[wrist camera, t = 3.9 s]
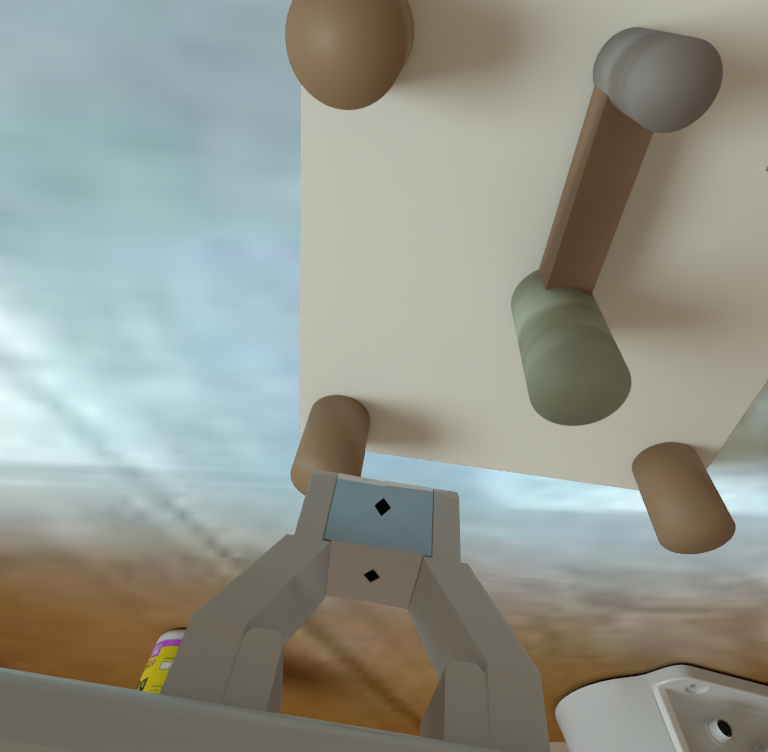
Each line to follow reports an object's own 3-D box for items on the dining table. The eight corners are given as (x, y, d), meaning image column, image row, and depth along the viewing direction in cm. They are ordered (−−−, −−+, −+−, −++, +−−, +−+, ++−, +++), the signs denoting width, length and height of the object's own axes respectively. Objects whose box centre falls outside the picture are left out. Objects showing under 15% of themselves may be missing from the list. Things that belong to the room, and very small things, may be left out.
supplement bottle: (160, 618, 45) (74, 805, 35) (235, 636, 45) (173, 825, 35) (159, 653, 49) (83, 829, 39) (229, 668, 49) (171, 847, 39)
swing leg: (693, 33, 15) (797, 52, 10) (576, 339, 21) (610, 431, 17) (589, 20, 15) (648, 33, 11) (503, 328, 21) (517, 418, 17)
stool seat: (963, 10, 16) (1205, 19, 11) (677, 462, 29) (728, 567, 23) (319, -70, 17) (261, -97, 11) (310, 410, 29) (280, 502, 24)
